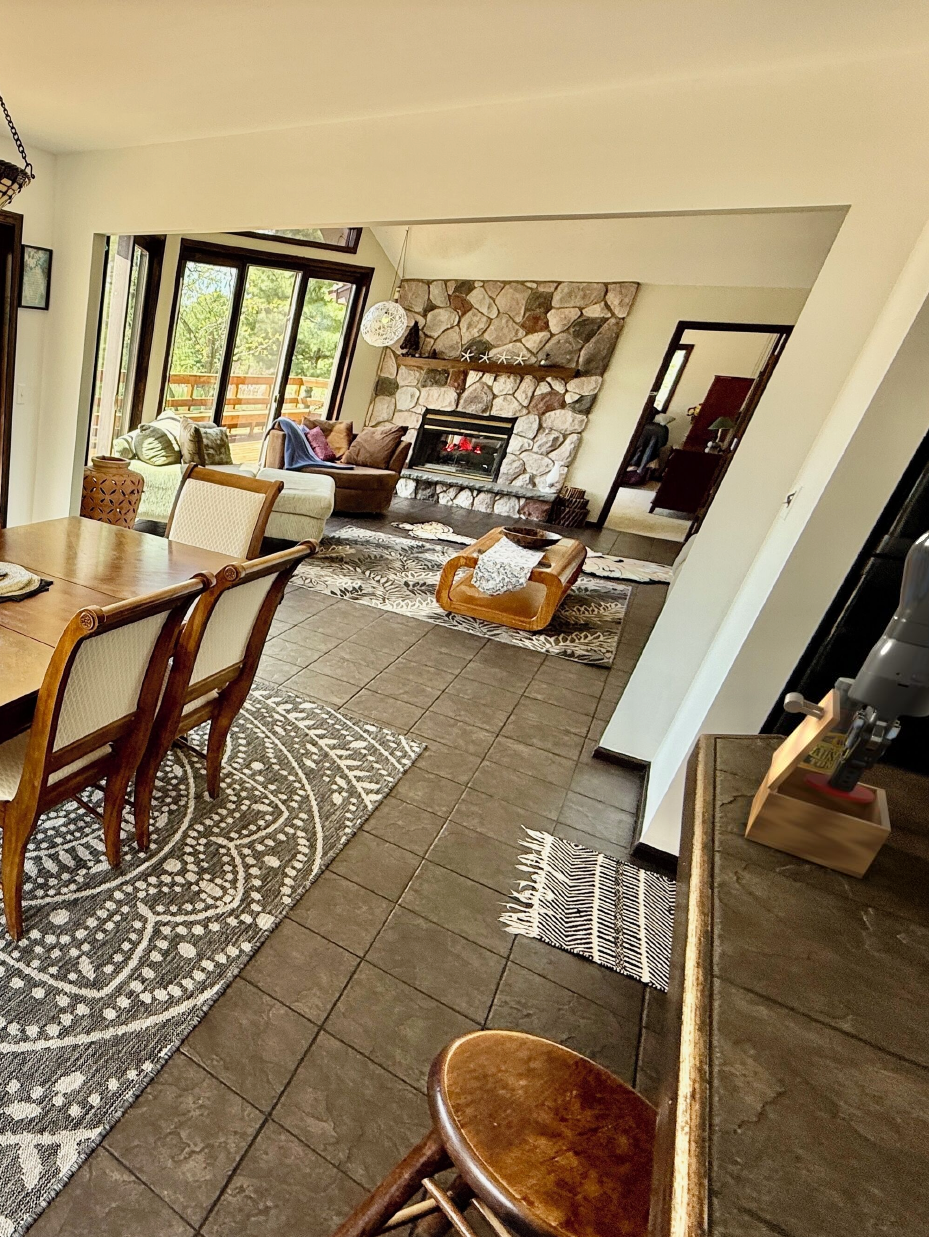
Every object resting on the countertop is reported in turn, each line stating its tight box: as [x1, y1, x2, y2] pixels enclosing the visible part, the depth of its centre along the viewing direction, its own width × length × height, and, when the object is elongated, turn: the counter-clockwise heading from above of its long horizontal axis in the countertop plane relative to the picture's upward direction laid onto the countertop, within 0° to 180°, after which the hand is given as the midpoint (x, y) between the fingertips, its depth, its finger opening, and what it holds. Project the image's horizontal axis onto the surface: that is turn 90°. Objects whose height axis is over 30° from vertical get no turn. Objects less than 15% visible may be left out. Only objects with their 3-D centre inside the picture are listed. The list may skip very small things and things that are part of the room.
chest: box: [744, 765, 892, 880], centre depth 101 cm, size 12×17×8 cm
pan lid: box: [804, 757, 875, 802], centre depth 98 cm, size 7×7×5 cm
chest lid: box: [767, 688, 840, 791], centre depth 101 cm, size 12×17×5 cm
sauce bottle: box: [799, 677, 864, 774], centre depth 112 cm, size 7×6×20 cm
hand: (840, 785), depth 99 cm, fingers closed on pan lid, 2 cm apart
